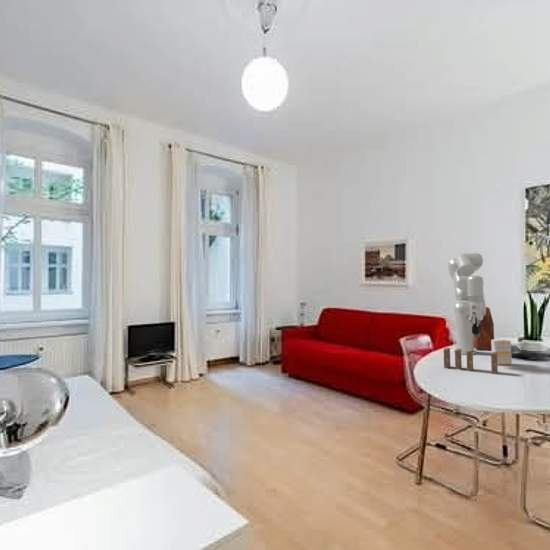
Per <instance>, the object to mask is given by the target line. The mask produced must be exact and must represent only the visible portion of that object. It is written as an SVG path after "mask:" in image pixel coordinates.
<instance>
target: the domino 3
mask: <svg viewBox="0 0 550 550" xmlns="http://www.w3.org/2000/svg"><path fill="white" fill-rule="evenodd" d="M467 370H468V371H467ZM473 370H474V354H473V350H467V355H466V371H467V372H472V371H473Z"/></svg>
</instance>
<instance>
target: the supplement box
mask: <svg viewBox="0 0 550 550" xmlns="http://www.w3.org/2000/svg"><path fill="white" fill-rule="evenodd" d="M491 346H492V350H491V353H492V352H497V364H498V366H512V361H513V360H512V340H510V339H494V340H491Z"/></svg>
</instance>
